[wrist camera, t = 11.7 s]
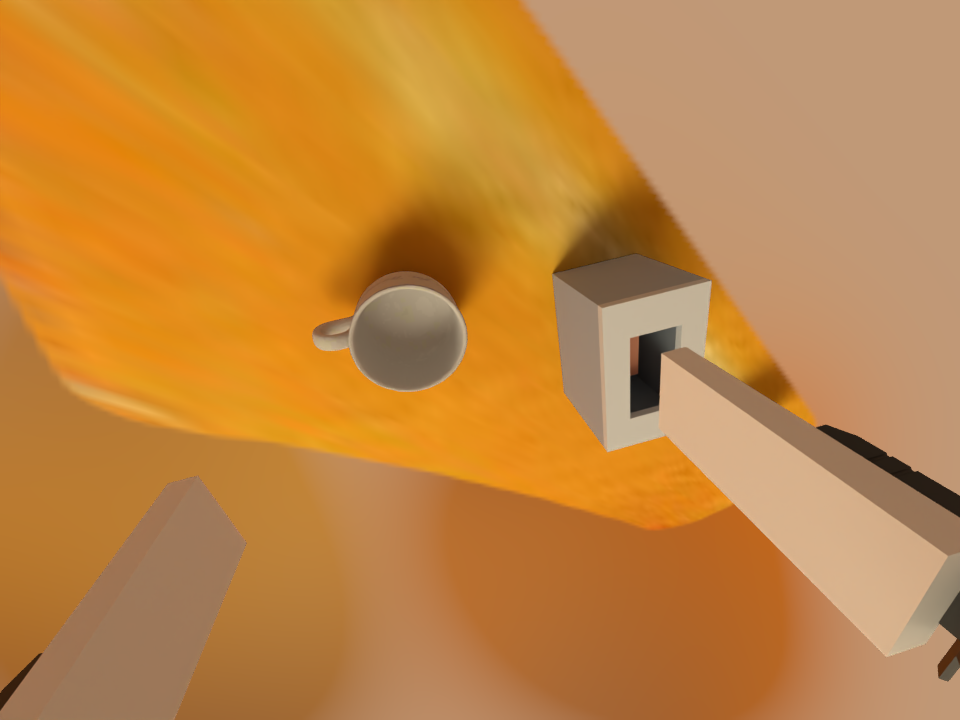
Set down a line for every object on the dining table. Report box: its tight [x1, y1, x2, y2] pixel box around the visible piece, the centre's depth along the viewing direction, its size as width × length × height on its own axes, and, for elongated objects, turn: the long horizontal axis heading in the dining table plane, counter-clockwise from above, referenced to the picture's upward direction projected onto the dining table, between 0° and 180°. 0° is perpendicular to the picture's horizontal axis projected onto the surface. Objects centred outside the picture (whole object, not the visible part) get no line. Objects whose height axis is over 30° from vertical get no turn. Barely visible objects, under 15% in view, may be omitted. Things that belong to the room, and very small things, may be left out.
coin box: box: [552, 254, 712, 452], centre depth 42 cm, size 16×10×12 cm, turn 11°
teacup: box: [312, 271, 467, 392], centre depth 38 cm, size 14×11×8 cm
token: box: [630, 336, 639, 376], centre depth 44 cm, size 6×3×6 cm, turn 10°
